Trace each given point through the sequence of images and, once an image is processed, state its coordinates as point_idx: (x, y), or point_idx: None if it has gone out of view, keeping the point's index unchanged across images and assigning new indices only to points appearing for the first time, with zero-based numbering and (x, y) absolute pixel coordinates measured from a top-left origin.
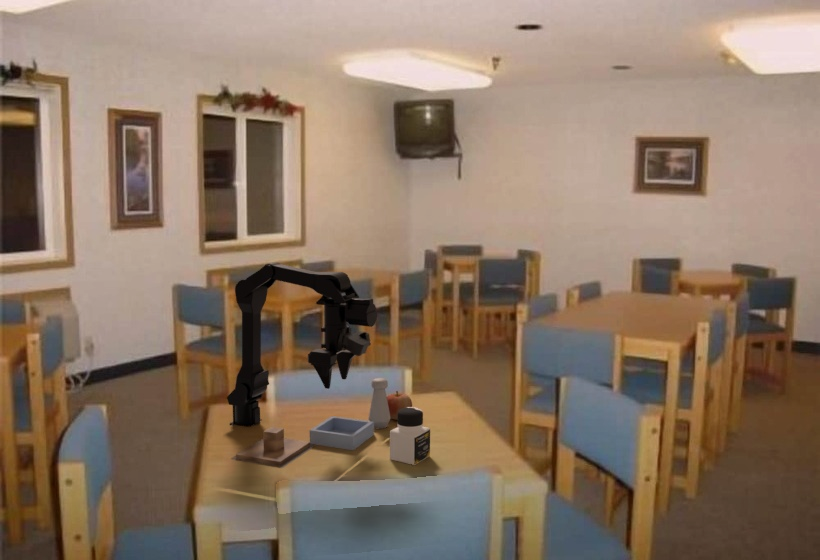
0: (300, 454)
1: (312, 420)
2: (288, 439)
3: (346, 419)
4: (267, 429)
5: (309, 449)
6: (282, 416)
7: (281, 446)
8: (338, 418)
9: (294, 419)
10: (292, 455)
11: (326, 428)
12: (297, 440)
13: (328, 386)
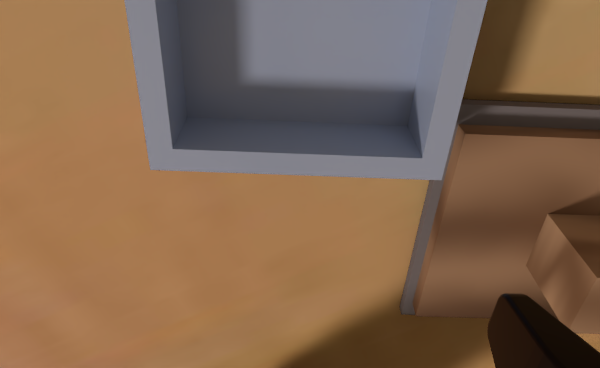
0: (590, 115)
1: (94, 261)
2: (447, 235)
3: (162, 57)
4: None
5: (510, 106)
6: (123, 362)
7: (575, 219)
8: (168, 117)
9: (127, 319)
10: None
11: (276, 134)
12: (454, 196)
13: (548, 320)
